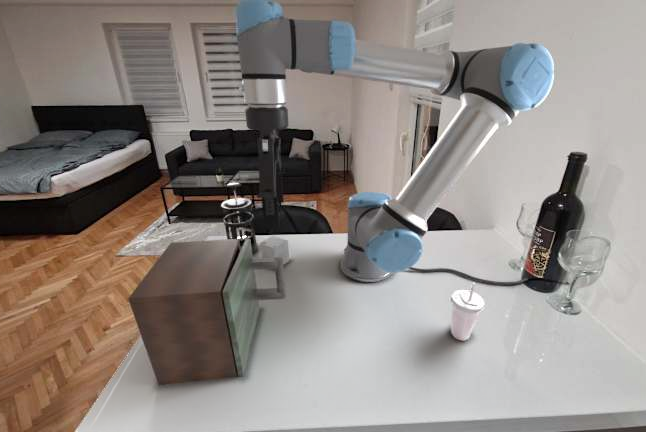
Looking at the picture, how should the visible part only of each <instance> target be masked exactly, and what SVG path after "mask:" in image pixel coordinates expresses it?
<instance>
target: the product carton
mask: <svg viewBox="0 0 646 432" xmlns="http://www.w3.org/2000/svg"><path fill="white" fill-rule="evenodd" d="M259 248H260V254H261V255H260V256H261V258H274V257H281V258H282V259H283V266H286V264H288V263H289V262H290V261H291V260H290V259H291V258H290V249H289V248H290V247H289V241H288V239H285V238H281V237H278V236H275V235H272V236H270V237H268V238H267V239H265V240H263V241H262V242H260V243H259Z"/></svg>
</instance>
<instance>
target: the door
mask: <svg viewBox="0 0 646 432" xmlns="http://www.w3.org/2000/svg"><path fill="white" fill-rule="evenodd" d="M241 248H242V249H241V251H240V253H239V255H238V258H237V260H236V262H235V264H234V267H233V269H232V271H231V273H230V276H229V278H228V280H227V282H226V285H225V287H224V289H223V291H222V294H223V299H224V304H225V309H226V315H227V320H228V325H229V330H230V335H231V340H232V346H233V351H234V356H235V361H236V366H237V372H238V374H237V377H244V376H245V372H246V369H247V364H248V360H249V356H250V352H251V347H252V343H253V340H254V335H255V332H256V328H257V323H258V320H259V314H260V311H261V308H260V301H268V300H269V301H270V300H284V299H286V297H287V293H286V283H285V281H286V280H285V271H284V265H283V259H282V258H281V257H274V258H262V257H254V255H252V248H251V240H250V239H246V240H245V242H244V244H243V245H241ZM255 270H274V271H275V282H276V283H275V284H276V287H272V288H269V287H268V288H258V286H257V277H256V271H255Z"/></svg>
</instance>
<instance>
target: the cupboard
mask: <svg viewBox="0 0 646 432" xmlns="http://www.w3.org/2000/svg"><path fill="white" fill-rule="evenodd" d="M241 248H242V247H241V246H240V241H239V239H228V240H227V239H212V240H195V241H194V240H193V241H178V242H170V243H169V244H168V245H167V247H166V248H165V250H164V251H163V252H162V254H161V255H160V256H159V257H158V259H157V260H156V261H155V263H154V264H153V265H152V266H151V268H150V269H149V270H148V272H147V273H146V274H145V276H144V277H143V278H142V279H141V281H140V282H139V283H138V285H137V286H136V287H135V289H134V290H133V291H132V292H131V294H130V295H129V297H128V298H127V299H128V303H129V305H130V308H131V311H132V314H133V317H134V320H135V323H136V325H137V328H138V331H139V334H140V336H141V339H142V342H143V345H144V348H145V350H146V353H147V356H148V360H149V362H150V365H151V368H152V371H153V374H154V376H155V379H156V382H157V384H158V386H167V385H174V384H176V385H177V384H184V383H194V382H203V381H213V380H222V379H223V380H224V379H231V378H232V379H233V378H237V377H238V372H237V366H236V361H235V356H234V351H233V346H232V340H231V335H230V330H229V325H228V320H227V315H226V309H225V304H224V299H223V294H222V291H223V289H224V287H225V285H226V282H227V280H228V278H229V276H230V273H231V271H232V269H233V267H234V264H235V262H236V260H237V258H238V255H239V253H240V251H241Z"/></svg>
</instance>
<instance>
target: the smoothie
mask: <svg viewBox="0 0 646 432" xmlns="http://www.w3.org/2000/svg"><path fill="white" fill-rule="evenodd" d="M475 287H476V282H472V283H471V288H470V290H467V289H457V290H455V291H453V292H452V293H451V296H450V303H451V329H450V331H451V332H450V333H451V335H452V336H453V338H455V340H459V341H461V342H462V341H468V340H469V338H470V336H471V334H472V331H473V330H474V327H475V325H476V322H477V320H478V318H479V316H480V314H481V312H482V311H483V310H484V308H485V307H484V306H485V300H484V299H483V297H481V296H480V295H479V294H478V293H476V292H474V291H475Z"/></svg>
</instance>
